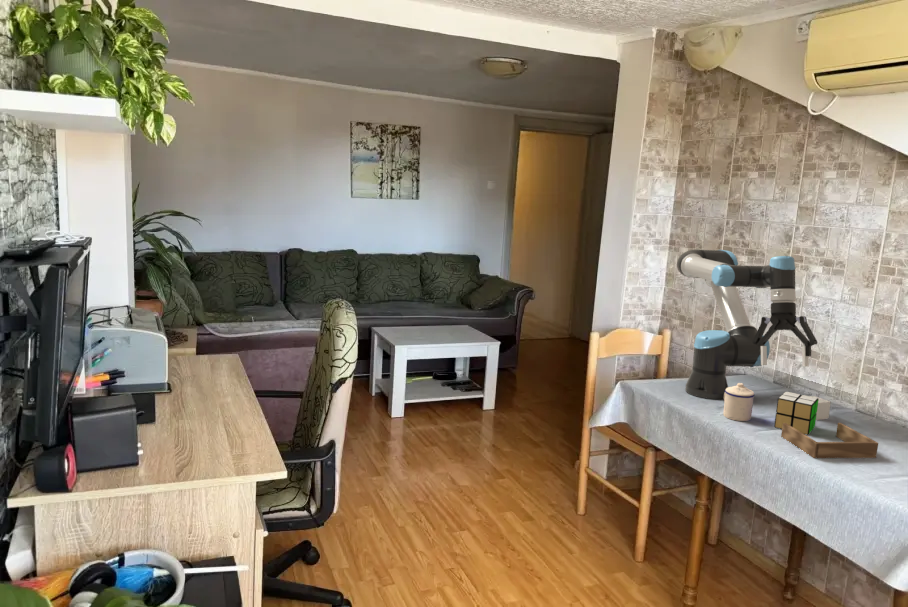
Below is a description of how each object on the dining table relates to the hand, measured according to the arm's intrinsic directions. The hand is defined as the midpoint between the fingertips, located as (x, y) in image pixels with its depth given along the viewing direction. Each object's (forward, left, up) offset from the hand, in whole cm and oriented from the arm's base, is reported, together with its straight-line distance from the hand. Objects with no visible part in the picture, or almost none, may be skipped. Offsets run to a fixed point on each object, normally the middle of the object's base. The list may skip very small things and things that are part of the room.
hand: (784, 365), depth 214 cm
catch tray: (+26, 0, -18) cm, 31 cm away
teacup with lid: (-1, -15, -18) cm, 23 cm away
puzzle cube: (+10, 0, -18) cm, 21 cm away
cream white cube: (0, +13, -18) cm, 22 cm away
